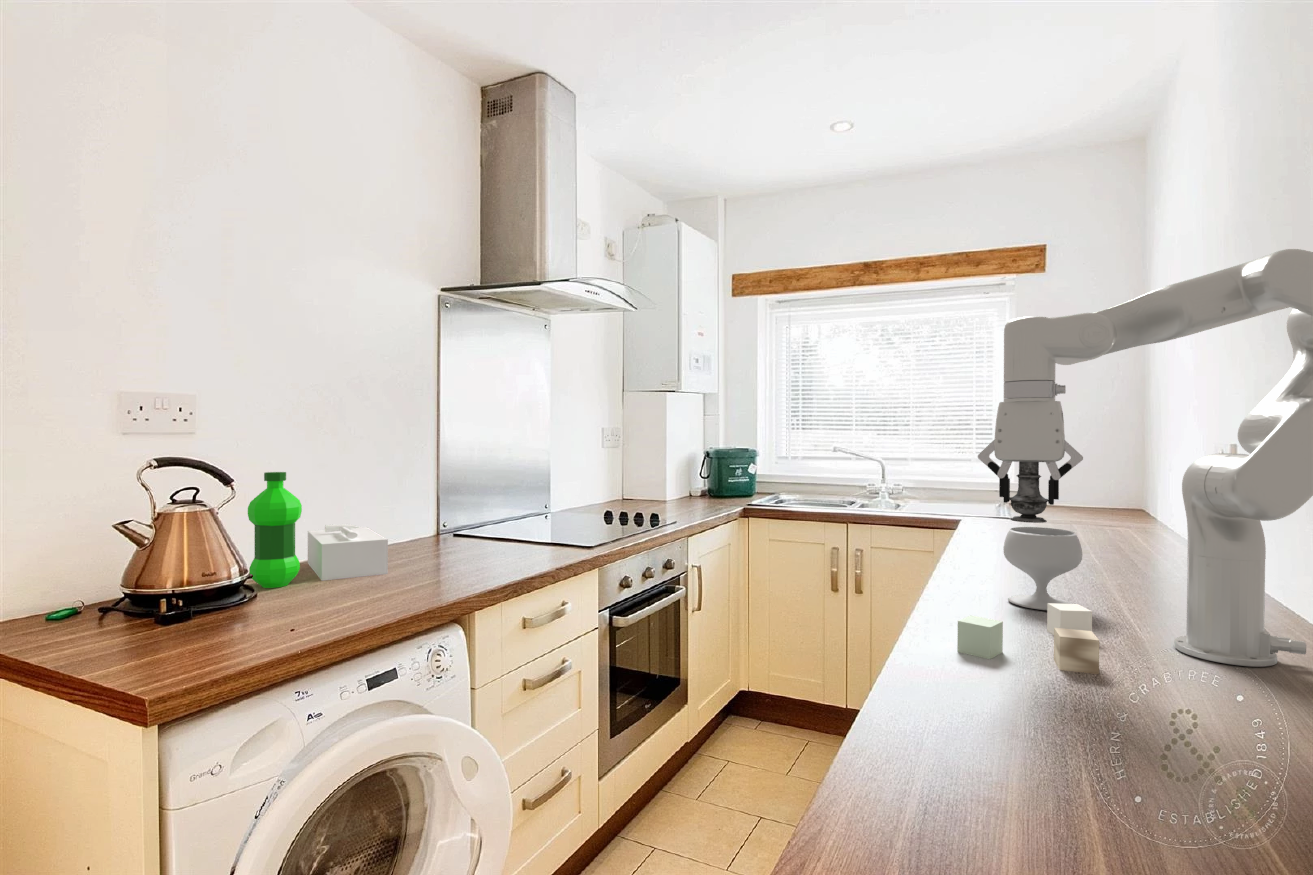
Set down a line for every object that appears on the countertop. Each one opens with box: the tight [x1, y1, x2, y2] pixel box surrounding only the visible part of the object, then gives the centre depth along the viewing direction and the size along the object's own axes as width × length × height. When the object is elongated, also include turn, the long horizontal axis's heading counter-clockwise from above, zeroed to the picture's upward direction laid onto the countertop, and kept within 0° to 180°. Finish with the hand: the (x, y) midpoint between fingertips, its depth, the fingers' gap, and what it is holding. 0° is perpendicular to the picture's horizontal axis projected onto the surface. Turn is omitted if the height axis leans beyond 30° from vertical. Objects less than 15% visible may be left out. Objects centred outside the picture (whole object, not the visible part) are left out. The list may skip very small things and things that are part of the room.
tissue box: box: [307, 523, 389, 581], centre depth 175 cm, size 14×25×11 cm, turn 33°
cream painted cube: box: [1046, 603, 1093, 636], centre depth 120 cm, size 5×5×5 cm
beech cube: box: [1053, 628, 1100, 675], centre depth 104 cm, size 5×5×5 cm
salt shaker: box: [1009, 462, 1048, 524], centre depth 115 cm, size 6×6×12 cm
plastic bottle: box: [247, 471, 303, 589], centre depth 155 cm, size 10×10×25 cm
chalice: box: [1003, 526, 1083, 611], centre depth 142 cm, size 14×14×15 cm
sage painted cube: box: [956, 614, 1004, 660], centre depth 111 cm, size 5×5×5 cm
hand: (1028, 501), depth 115 cm, fingers closed on salt shaker, 5 cm apart
